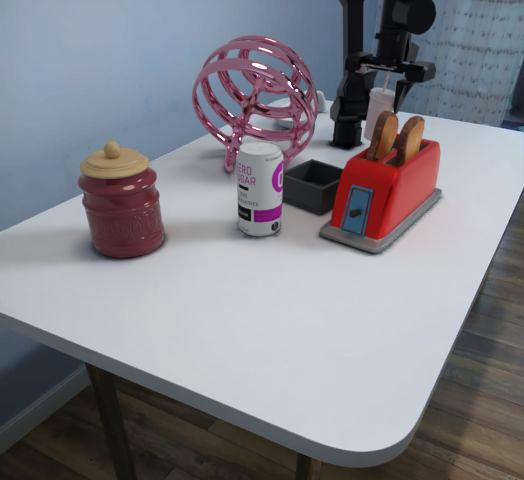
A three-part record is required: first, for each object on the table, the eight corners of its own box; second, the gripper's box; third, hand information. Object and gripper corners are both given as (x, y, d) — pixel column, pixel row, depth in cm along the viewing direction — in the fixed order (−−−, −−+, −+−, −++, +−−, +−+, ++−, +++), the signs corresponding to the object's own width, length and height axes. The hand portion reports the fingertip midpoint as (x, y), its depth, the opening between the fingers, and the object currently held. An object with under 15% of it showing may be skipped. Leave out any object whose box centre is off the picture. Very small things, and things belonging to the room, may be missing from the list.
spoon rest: (302, 135, 135) (304, 107, 130) (265, 129, 140) (265, 101, 135) (336, 113, 151) (338, 87, 146) (301, 108, 155) (303, 82, 150)
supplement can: (286, 221, 96) (289, 142, 87) (273, 241, 90) (275, 158, 81) (247, 215, 98) (246, 137, 89) (232, 234, 92) (228, 152, 83)
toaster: (378, 256, 86) (397, 146, 74) (315, 236, 92) (323, 130, 80) (443, 195, 106) (467, 100, 94) (388, 181, 112) (404, 89, 99)
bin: (276, 198, 104) (277, 173, 101) (310, 182, 111) (312, 158, 107) (320, 215, 99) (322, 189, 95) (353, 197, 105) (356, 172, 102)
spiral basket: (261, 105, 87) (302, -13, 94) (147, 122, 102) (189, 19, 108) (318, 198, 111) (348, 99, 117) (218, 201, 125) (250, 112, 131)
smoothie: (354, 130, 114) (373, 63, 104) (380, 132, 115) (401, 67, 105) (361, 143, 110) (382, 75, 99) (388, 145, 111) (411, 78, 101)
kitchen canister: (163, 222, 96) (150, 126, 84) (168, 255, 86) (154, 153, 75) (94, 228, 94) (71, 131, 82) (91, 263, 84) (64, 159, 73)
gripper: (456, 26, 98) (438, 111, 108) (375, 17, 107) (365, 96, 117) (430, 33, 91) (413, 123, 102) (346, 23, 101) (338, 106, 111)
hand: (381, 111), depth 108 cm, fingers closed on smoothie, 6 cm apart
